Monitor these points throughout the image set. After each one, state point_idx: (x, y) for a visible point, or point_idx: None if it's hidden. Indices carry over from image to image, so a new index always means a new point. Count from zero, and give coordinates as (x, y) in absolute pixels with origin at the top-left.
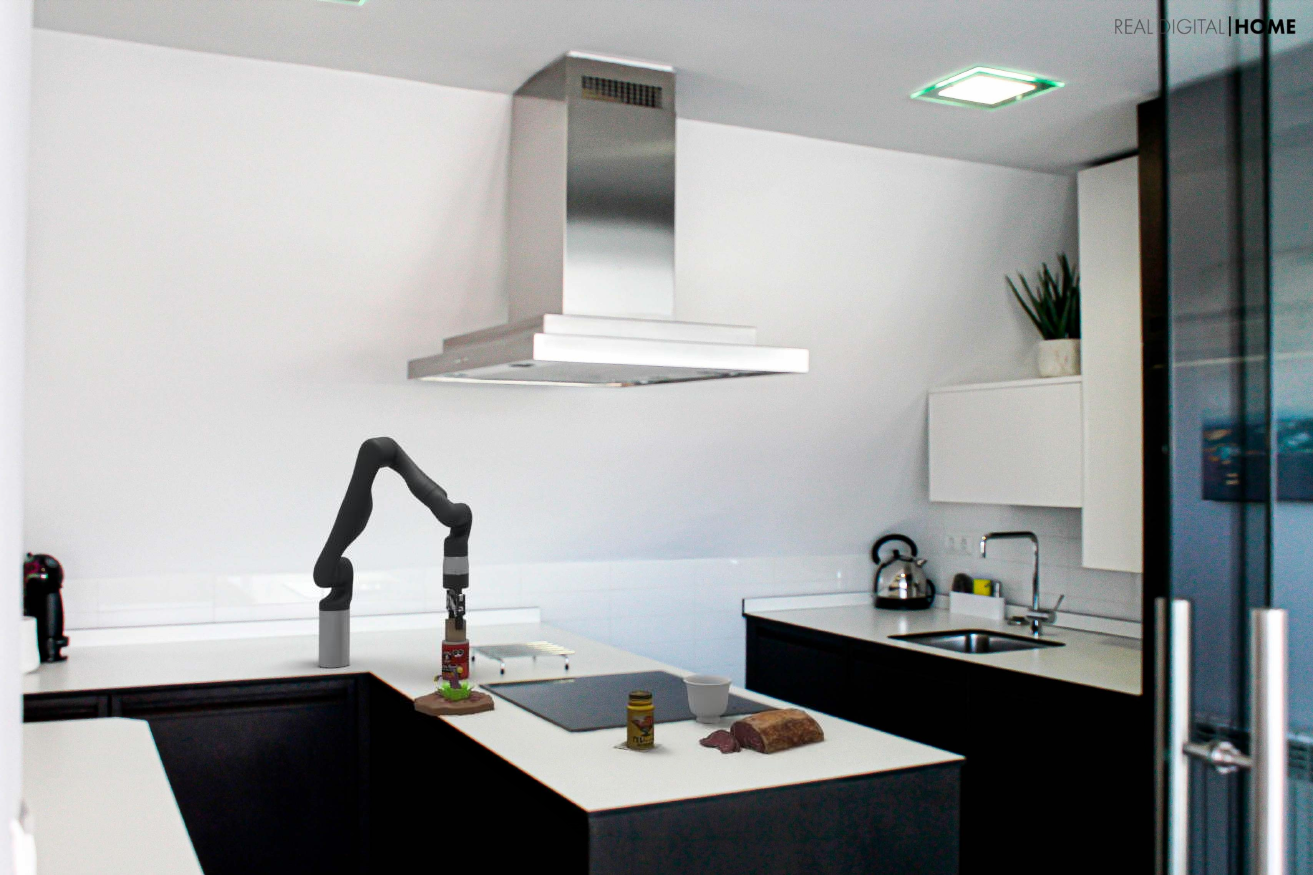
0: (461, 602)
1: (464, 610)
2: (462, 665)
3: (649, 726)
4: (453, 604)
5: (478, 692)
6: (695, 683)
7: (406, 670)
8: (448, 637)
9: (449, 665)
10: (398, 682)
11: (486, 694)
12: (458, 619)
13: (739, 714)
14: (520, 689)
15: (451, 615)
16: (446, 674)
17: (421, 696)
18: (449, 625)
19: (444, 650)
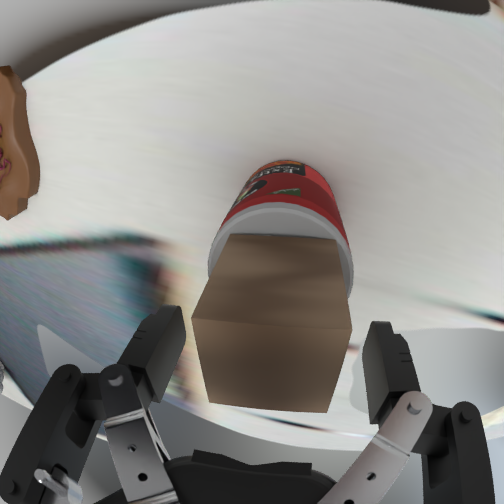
0: (62, 467)
1: (71, 419)
2: None
3: None
4: (116, 457)
5: (2, 201)
6: None
7: (485, 105)
8: (238, 246)
9: (241, 191)
10: (290, 9)
11: (5, 214)
12: (125, 360)
13: (17, 385)
14: (96, 299)
15: (380, 387)
16: (256, 172)
17: (3, 80)
18: (201, 296)
19: (253, 195)
